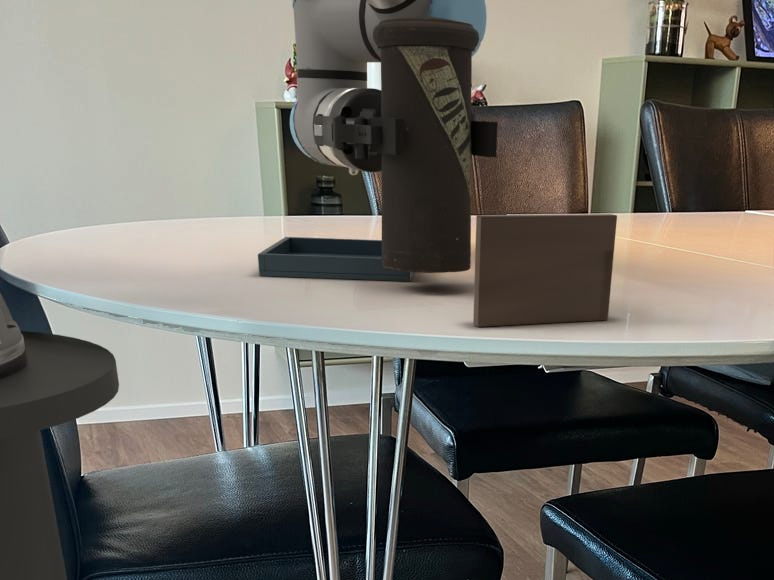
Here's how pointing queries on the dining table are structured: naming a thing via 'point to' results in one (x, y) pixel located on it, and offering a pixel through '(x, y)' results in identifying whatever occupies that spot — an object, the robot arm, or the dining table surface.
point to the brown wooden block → (543, 268)
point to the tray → (327, 259)
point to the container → (427, 143)
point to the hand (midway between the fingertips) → (447, 138)
